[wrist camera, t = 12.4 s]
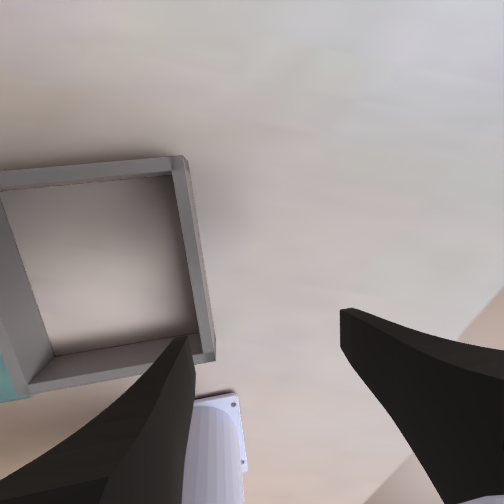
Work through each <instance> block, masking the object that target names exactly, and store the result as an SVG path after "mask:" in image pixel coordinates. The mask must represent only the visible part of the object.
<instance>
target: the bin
mask: <svg viewBox="0 0 504 504" xmlns="http://www.w3.org/2000/svg"><path fill="white" fill-rule="evenodd" d="M164 175H172V176H173V182H174V188H175V194H176V199H177V205H178V211H179V217H180V222H181V228H182V234H183V240H184V245H185V251H186V257H187V263H188V268H189V274H190V280H191V286H192V291H193V297H194V303H195V309H196V314H197V320H198V326H199V332H200V333H194V334H188V335H189V340H190V346H191V351H192V356H193V362H194V365H196V364H201V363H207V362H212V361H216V337H215V331H214V325H213V318H212V312H211V305H210V299H209V293H208V286H207V280H206V273H205V267H204V261H203V254H202V248H201V242H200V235H199V229H198V222H197V216H196V210H195V203H194V197H193V190H192V184H191V178H190V171H189V165H188V161H187V160H186V159H185V158H184V156H183V155H181V156H169V157H158V158H146V159H134V160H123V161H111V162H99V163H88V164H76V165H65V166H53V167H41V168H30V169H18V170H6V171H0V191H5V190H16V189H27V188H37V187H48V186H58V185H69V184H79V183H90V182H101V181H111V180H122V179H132V178H143V177H154V176H164ZM182 336H187V335H182ZM176 337H181V336H176ZM174 338H175V337H170V338H164V339H158V340H152V341H147V342H141V343H135V344H129V345H123V346H117V347H111V348H105V349H99V350H93V351H87V352H81V353H75V354H69V355H63V356H57V357H55V356H54V353H53V350H52V347H51V344H50V341H49V338H48V335H47V333H46V330H45V327H44V324H43V321H42V318H41V315H40V312H39V309H38V307H37V304H36V301H35V298H34V295H33V292H32V289H31V286H30V284H29V281H28V278H27V275H26V272H25V269H24V266H23V263H22V260H21V258H20V255H19V252H18V249H17V246H16V243H15V240H14V237H13V234H12V232H11V229H10V226H9V223H8V220H7V217H6V214H5V211H4V209H3V206H2V203H1V200H0V353H1V355H2V358H3V360H4V363H5V365H6V368H7V370H8V373H9V375H10V377H11V380H12V382H13V385H14V387H15V390H16V392H17V395H18V397H20V396H26V395H31V394H36V393H42V392H47V391H53V390H58V389H64V388H69V387H75V386H80V385H86V384H91V383H97V382H102V381H108V380H113V379H119V378H124V377H130V376H135V375H141V374H144V373H145V372H146V371H147V369H148V368H149V367H150V366H151V365H152V364H153V363H154V362H155V361H156V359H157V358H158V357H159V356H160V355H161V353H162V352H163V351H164V350H165V349H166V347H167V346H168V345H169V344H170V343H171V341H172V340H173V339H174Z"/></svg>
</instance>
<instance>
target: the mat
mask: <svg viewBox="0 0 504 504" xmlns="http://www.w3.org/2000/svg"><path fill="white" fill-rule="evenodd" d="M31 395H32V394H31ZM31 395H26V396H20V397H18V395H17V392H16V390H15V387H14V385H13V382H12V380H11V377H10V375H9V373H8V370H7V368H6V365H5V363H4V360H3V358H2V355H1V353H0V403H3V402H8V401H14V400H19V399H25V398H30V397H31Z"/></svg>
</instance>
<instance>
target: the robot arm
mask: <svg viewBox="0 0 504 504" xmlns="http://www.w3.org/2000/svg"><path fill="white" fill-rule="evenodd" d="M340 347H341V349H342V351H343V352H344V354H345V356H346V358H347V359H348V361H349V363H350V364H351V366H352V367H353V368H354V370H355V371H356V372H357V374H358V375H359V376H360V377H361V379H362V380H363V381H364V383H365V384H366V385H367V386H368V388H369V389H370V390H371V391H372V393H373V394H374V395H375V397H376V398H377V399H378V400H379V402H380V403H381V404H382V405H383V407H384V408H385V409H386V411H387V412H388V413H389V415H390V416H391V418H392V419H393V421H394V422H395V424H396V425H397V427H398V428H399V430H400V431H401V433H402V434H403V436H404V437H405V439H406V441H407V442H408V444H409V445H410V447H411V449H412V450H413V452H414V453H415V455H416V457H417V458H418V460H419V461H420V463H421V465H422V466H423V468H424V469H425V471H426V473H427V474H428V476H429V478H430V480H431V481H432V483H433V485H434V487H435V488H436V490H437V492H438V493H439V495H440V497H441V499H442V500H443V502H444V504H504V350H497V349H491V348H485V347H480V346H475V345H469V344H465V343H460V342H456V341H452V340H448V339H444V338H440V337H436V336H433V335H429V334H426V333H422V332H419V331H416V330H413V329H410V328H407V327H404V326H401V325H398V324H396V323H393V322H390V321H388V320H385V319H382V318H380V317H377V316H374V315H372V314H369V313H366V312H364V311H361V310H358V309H354V308H348V309H342V310H340ZM195 382H196V373H195V367H194V362H193V356H192V351H191V346H190V340H189V335H187V336H181V337H175V338H174V339H173V340H172V341H171V343H170V344H169V345H168V346H167V347H166V349H165V350H164V351H163V352H162V353H161V355H160V356H159V357H158V358H157V359H156V361H155V362H154V363H153V364H152V365H151V366H150V367H149V368H148V369H147V371H146V372H145V373H144V374H143V375H142V376H141V377H140V378H139V379H138V380H137V381H136V382H135V383H134V384H133V385H132V386H131V387H130V388H129V389H128V390H127V391H126V392H125V393H124V394H123V395H121V396H120V397H119V398H118V399H117V400H116V401H115V402H114V403H112V404H111V405H110V406H109V407H108V408H106V409H105V410H104V411H103V412H101V413H100V414H99V415H98V416H96V417H95V418H94V419H92V420H91V421H90V422H89V423H87V424H86V425H85V426H84V427H82V428H81V429H79V430H78V431H77V432H75V433H74V434H72V435H71V436H70V437H68V438H67V439H65V440H64V441H62V442H61V443H59V444H58V445H56V446H55V447H53V448H52V449H51V450H49V451H47V452H46V453H44V454H43V455H41V456H40V457H38V458H37V459H35V460H33V461H32V462H30V463H28V464H27V465H25V466H23V467H22V468H20V469H18V470H17V471H15V472H13V473H12V474H10V475H8V476H7V477H5V478H4V479H2V480H0V504H245V499H244V488H243V477H242V473H245V472H246V471H247V470H248V465H247V458H246V451H245V444H244V437H243V430H242V423H241V416H240V408H239V401H238V395H237V394H236V393H228V394H223V395H218V396H213V397H208V398H203V399H198V400H194V399H195ZM233 402H235V403H233ZM232 403H233V404H232Z"/></svg>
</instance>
